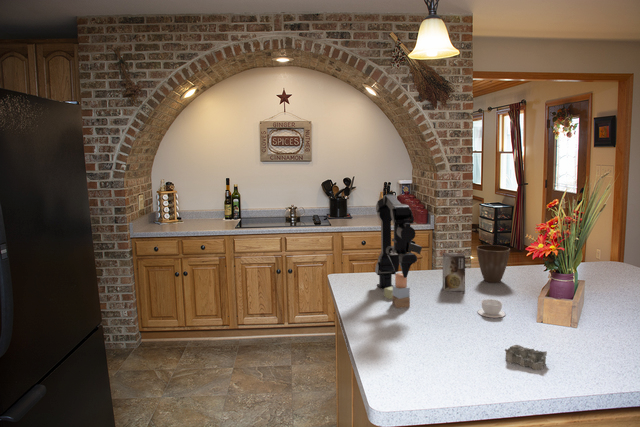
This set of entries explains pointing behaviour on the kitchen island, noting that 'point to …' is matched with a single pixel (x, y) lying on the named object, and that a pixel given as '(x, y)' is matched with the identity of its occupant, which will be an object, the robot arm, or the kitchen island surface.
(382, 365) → the kitchen island surface
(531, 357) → the egg carton
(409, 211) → the robot arm
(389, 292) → the olive block
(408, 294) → the tower mid
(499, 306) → the teacup
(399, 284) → the terracotta cylinder
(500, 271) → the plant pot
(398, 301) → the tower base
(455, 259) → the coffee box
